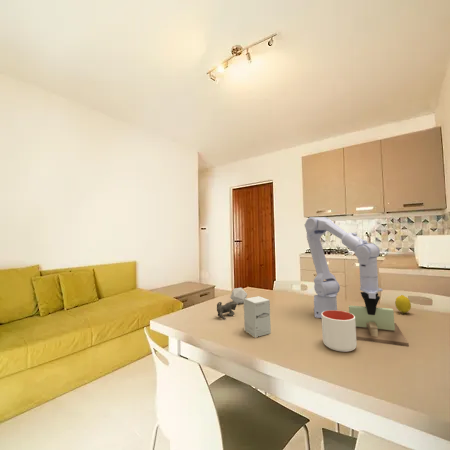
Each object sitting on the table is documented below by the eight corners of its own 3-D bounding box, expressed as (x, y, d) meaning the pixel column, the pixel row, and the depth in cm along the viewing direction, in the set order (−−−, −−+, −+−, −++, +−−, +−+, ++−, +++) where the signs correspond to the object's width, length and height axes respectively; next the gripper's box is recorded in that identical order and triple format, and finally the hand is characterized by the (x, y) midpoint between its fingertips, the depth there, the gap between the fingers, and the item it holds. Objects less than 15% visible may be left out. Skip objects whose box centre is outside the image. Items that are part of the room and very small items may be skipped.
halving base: (345, 337, 84) (344, 326, 84) (343, 320, 100) (343, 310, 100) (408, 346, 76) (407, 333, 76) (395, 325, 92) (395, 315, 92)
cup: (355, 356, 71) (353, 322, 72) (320, 349, 76) (318, 317, 77) (357, 342, 80) (356, 312, 80) (325, 336, 85) (324, 308, 85)
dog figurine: (222, 321, 104) (221, 303, 104) (213, 318, 108) (213, 301, 109) (241, 314, 112) (241, 298, 112) (233, 311, 116) (232, 296, 116)
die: (243, 300, 136) (232, 287, 137) (252, 295, 131) (241, 281, 131) (236, 309, 130) (224, 295, 130) (245, 304, 124) (234, 290, 125)
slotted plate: (350, 325, 90) (348, 306, 90) (349, 323, 92) (348, 305, 92) (394, 330, 84) (393, 310, 84) (393, 328, 86) (392, 308, 86)
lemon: (414, 315, 102) (413, 296, 102) (399, 315, 103) (398, 296, 103) (407, 311, 107) (406, 293, 108) (393, 311, 108) (392, 293, 109)
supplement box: (255, 338, 86) (253, 302, 86) (244, 331, 92) (242, 298, 93) (271, 333, 89) (270, 299, 90) (259, 327, 96) (258, 295, 96)
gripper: (385, 280, 80) (387, 321, 80) (378, 273, 94) (380, 308, 93) (361, 279, 83) (363, 319, 83) (357, 272, 97) (359, 306, 96)
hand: (370, 313), depth 88 cm, fingers closed on slotted plate, 2 cm apart
